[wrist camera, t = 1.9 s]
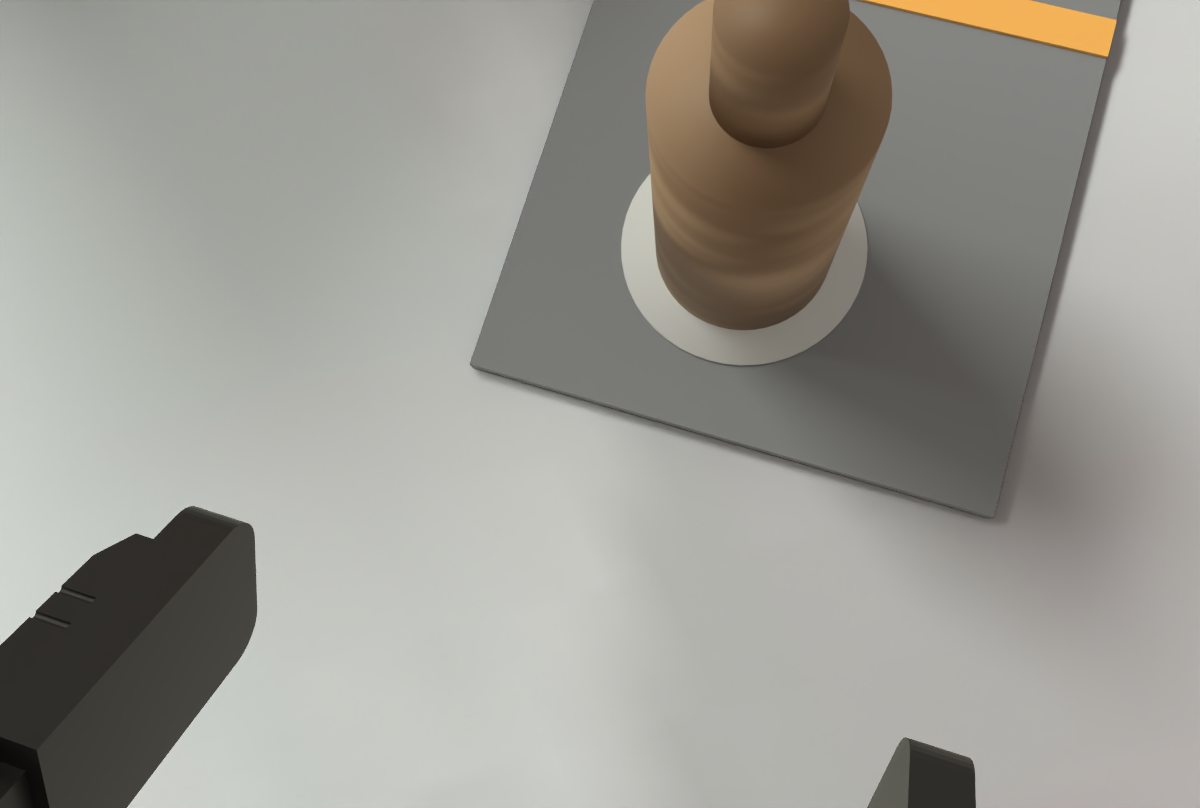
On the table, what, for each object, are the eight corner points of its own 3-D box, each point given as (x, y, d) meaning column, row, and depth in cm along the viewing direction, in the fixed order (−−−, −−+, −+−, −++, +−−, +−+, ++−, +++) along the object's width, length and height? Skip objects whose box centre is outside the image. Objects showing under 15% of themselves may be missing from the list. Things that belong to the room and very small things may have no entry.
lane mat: (472, 367, 31) (469, 363, 31) (713, -341, 35) (714, -355, 35) (990, 518, 29) (995, 516, 29) (1179, -251, 33) (1186, -264, 33)
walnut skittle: (634, 303, 31) (605, 103, 19) (683, 146, 32) (685, -139, 20) (805, 350, 30) (884, 174, 18) (851, 188, 31) (955, -80, 19)
